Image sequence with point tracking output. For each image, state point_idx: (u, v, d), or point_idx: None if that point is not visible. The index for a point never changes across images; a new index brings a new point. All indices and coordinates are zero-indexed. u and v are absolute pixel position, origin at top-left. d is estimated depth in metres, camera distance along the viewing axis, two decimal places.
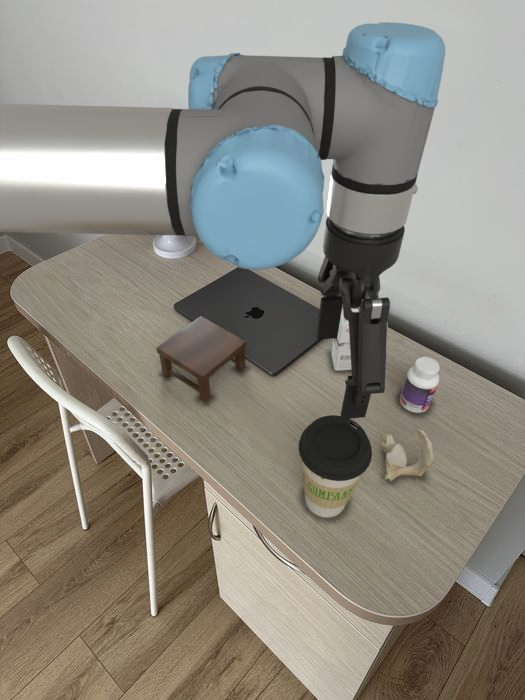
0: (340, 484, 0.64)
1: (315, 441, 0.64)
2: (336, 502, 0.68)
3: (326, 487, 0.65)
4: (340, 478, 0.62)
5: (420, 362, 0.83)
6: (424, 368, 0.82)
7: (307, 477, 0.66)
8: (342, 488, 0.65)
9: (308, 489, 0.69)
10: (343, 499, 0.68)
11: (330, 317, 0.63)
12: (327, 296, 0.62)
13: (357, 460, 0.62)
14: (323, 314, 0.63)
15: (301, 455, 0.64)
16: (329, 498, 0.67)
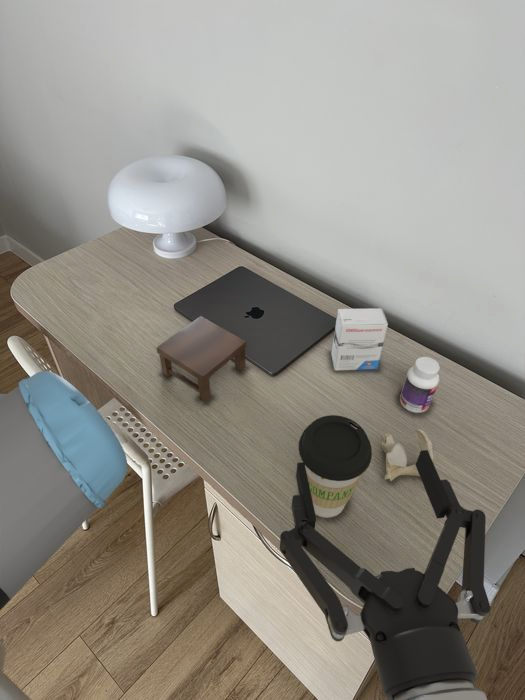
0: (340, 484, 0.64)
1: (315, 441, 0.64)
2: (336, 502, 0.68)
3: (326, 487, 0.65)
4: (340, 478, 0.62)
5: (420, 362, 0.83)
6: (424, 368, 0.82)
7: None
8: (342, 488, 0.65)
9: None
10: (343, 499, 0.68)
11: (430, 487, 0.51)
12: (449, 510, 0.49)
13: (357, 460, 0.62)
14: (434, 487, 0.50)
15: (301, 455, 0.64)
16: (329, 498, 0.67)
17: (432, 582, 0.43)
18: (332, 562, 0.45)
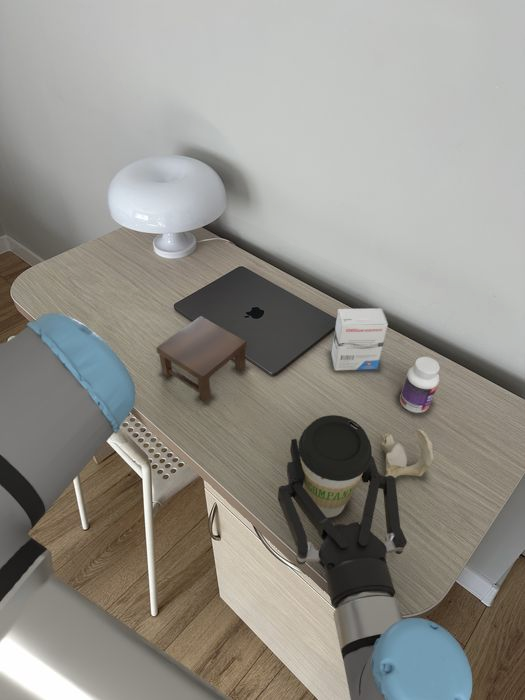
0: (340, 484, 0.64)
1: (315, 441, 0.64)
2: (336, 502, 0.68)
3: (326, 487, 0.65)
4: (340, 478, 0.62)
5: (420, 362, 0.83)
6: (424, 368, 0.82)
7: (307, 477, 0.66)
8: (342, 488, 0.65)
9: (308, 489, 0.69)
10: (343, 499, 0.68)
11: None
12: (370, 475, 0.68)
13: (357, 460, 0.62)
14: None
15: (301, 455, 0.64)
16: (329, 498, 0.67)
17: (366, 529, 0.61)
18: (308, 510, 0.64)
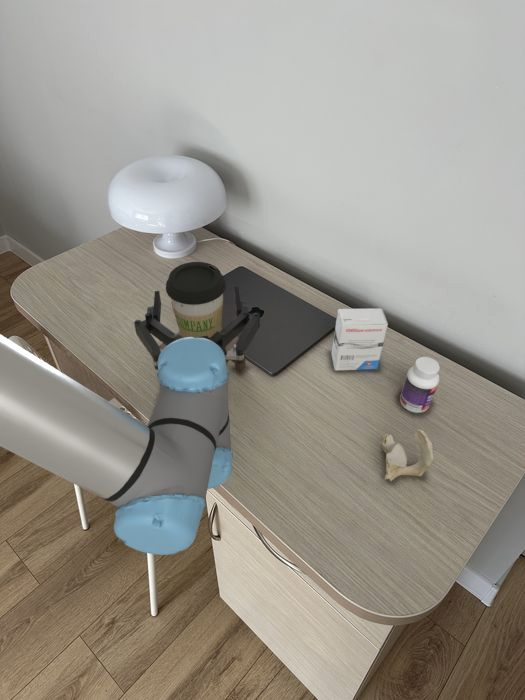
0: (197, 310, 0.78)
1: (177, 277, 0.79)
2: (201, 335, 0.82)
3: (187, 315, 0.79)
4: (193, 302, 0.76)
5: (420, 362, 0.83)
6: (424, 368, 0.82)
7: (174, 310, 0.81)
8: (200, 316, 0.79)
9: (178, 325, 0.83)
10: (206, 332, 0.82)
11: (235, 305, 0.83)
12: None
13: (207, 287, 0.77)
14: (235, 303, 0.82)
15: (166, 288, 0.79)
16: (193, 329, 0.81)
17: (214, 339, 0.75)
18: (161, 333, 0.77)
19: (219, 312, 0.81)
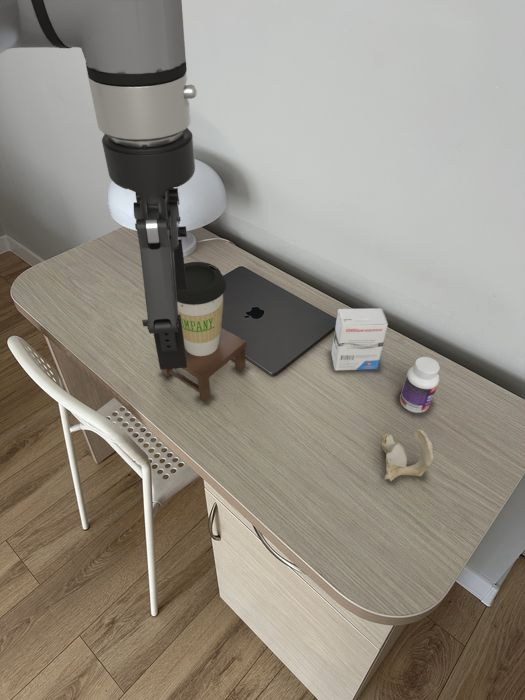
0: (197, 310, 0.78)
1: None
2: (201, 335, 0.82)
3: (187, 315, 0.79)
4: (193, 302, 0.76)
5: (420, 362, 0.83)
6: (424, 368, 0.82)
7: None
8: (200, 316, 0.79)
9: None
10: (206, 332, 0.82)
11: None
12: None
13: (208, 288, 0.77)
14: None
15: None
16: (193, 329, 0.81)
17: None
18: None
19: (219, 312, 0.81)
